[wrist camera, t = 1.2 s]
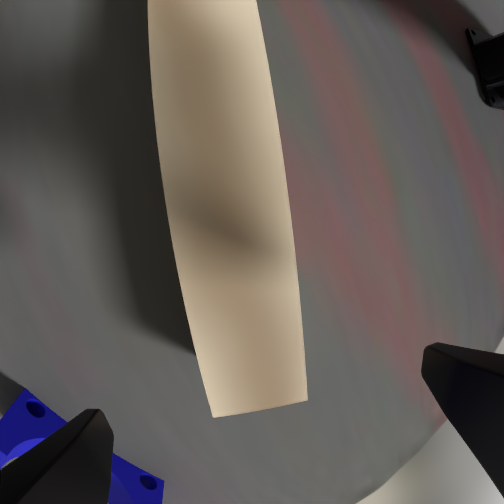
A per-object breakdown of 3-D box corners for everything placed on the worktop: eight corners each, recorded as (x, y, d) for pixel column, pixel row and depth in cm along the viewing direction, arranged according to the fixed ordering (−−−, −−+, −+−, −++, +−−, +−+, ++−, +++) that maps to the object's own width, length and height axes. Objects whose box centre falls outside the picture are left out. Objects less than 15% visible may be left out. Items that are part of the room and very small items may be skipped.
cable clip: (11, 414, 16) (-22, 462, 10) (26, 386, 15) (-14, 438, 9) (135, 497, 18) (127, 552, 12) (164, 479, 18) (159, 541, 12)
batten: (224, -55, 12) (230, -106, 7) (282, 347, 17) (307, 400, 12) (160, -47, 11) (151, -98, 6) (211, 359, 16) (213, 417, 12)
